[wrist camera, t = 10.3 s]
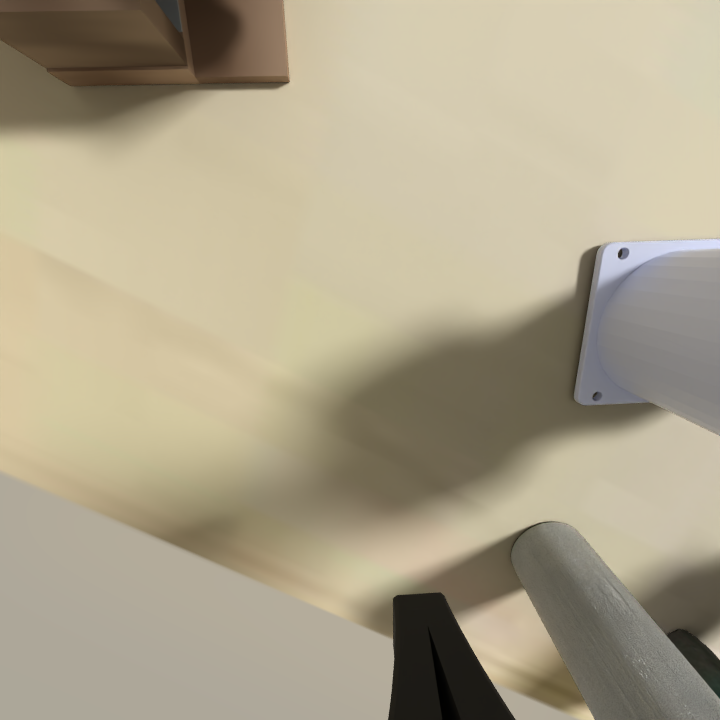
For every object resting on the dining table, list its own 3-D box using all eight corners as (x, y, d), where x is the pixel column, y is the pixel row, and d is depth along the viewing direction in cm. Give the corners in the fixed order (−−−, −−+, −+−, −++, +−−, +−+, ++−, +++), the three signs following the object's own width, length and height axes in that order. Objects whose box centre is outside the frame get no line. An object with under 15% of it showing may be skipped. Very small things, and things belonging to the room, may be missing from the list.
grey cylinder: (548, 588, 22) (709, 853, 12) (494, 560, 21) (622, 821, 12) (597, 540, 21) (815, 786, 11) (543, 508, 20) (727, 745, 11)
